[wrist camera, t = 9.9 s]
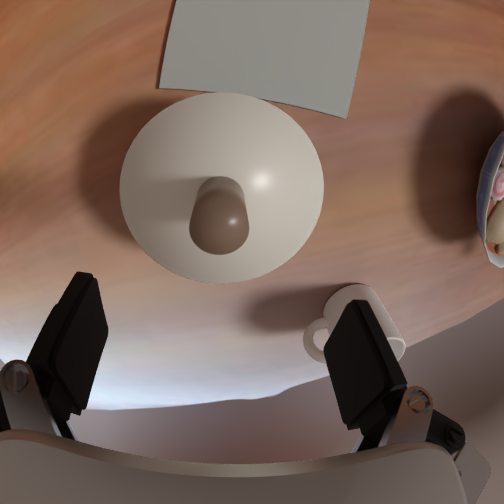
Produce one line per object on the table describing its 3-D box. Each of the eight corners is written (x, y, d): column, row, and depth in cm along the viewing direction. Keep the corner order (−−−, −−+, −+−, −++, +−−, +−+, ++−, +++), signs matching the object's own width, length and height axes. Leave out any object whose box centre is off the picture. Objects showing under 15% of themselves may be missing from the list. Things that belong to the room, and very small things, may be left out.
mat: (196, -61, 13) (196, -63, 12) (371, -23, 15) (372, -24, 15) (160, 88, 22) (159, 88, 21) (344, 118, 25) (346, 119, 24)
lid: (129, 86, 16) (95, 87, 11) (340, 115, 19) (377, 125, 14) (127, 267, 25) (108, 311, 20) (294, 283, 27) (308, 328, 22)
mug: (296, 334, 40) (311, 393, 31) (294, 292, 36) (313, 356, 27) (370, 318, 40) (396, 370, 31) (378, 276, 36) (413, 330, 27)
